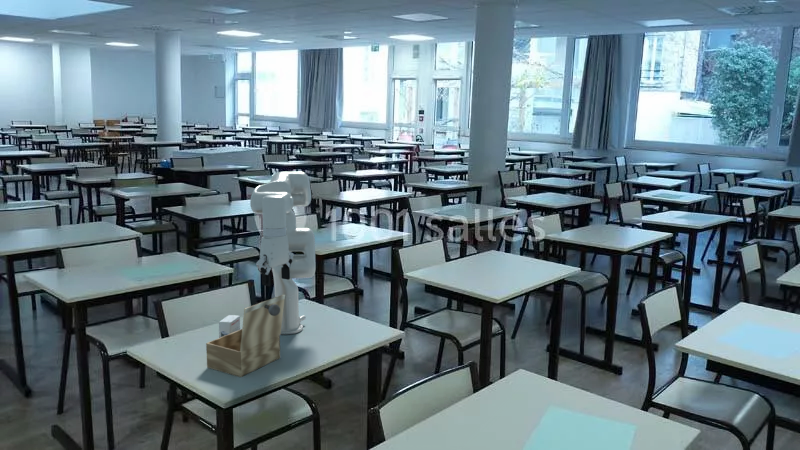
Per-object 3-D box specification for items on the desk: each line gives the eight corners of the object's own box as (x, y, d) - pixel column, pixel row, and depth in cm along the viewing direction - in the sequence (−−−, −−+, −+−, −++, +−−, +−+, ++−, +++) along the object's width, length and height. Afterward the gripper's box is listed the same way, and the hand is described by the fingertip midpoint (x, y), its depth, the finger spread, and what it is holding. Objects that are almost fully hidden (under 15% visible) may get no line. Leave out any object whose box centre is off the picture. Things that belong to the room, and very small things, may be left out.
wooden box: (247, 349, 238) (247, 326, 236) (280, 358, 230) (279, 334, 228) (207, 367, 221) (206, 343, 219) (240, 377, 213) (239, 352, 211)
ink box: (229, 343, 244) (228, 314, 242) (241, 344, 243) (240, 315, 241) (219, 351, 236) (217, 321, 234) (231, 352, 235) (230, 322, 233)
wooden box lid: (283, 293, 224) (298, 299, 221) (279, 334, 228) (293, 340, 225) (244, 307, 207) (259, 314, 204) (240, 351, 212) (254, 358, 208)
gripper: (283, 227, 218) (284, 275, 221) (247, 235, 203) (249, 286, 207) (300, 229, 214) (301, 278, 217) (265, 237, 200) (266, 289, 203)
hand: (276, 282), depth 212 cm, fingers open, 9 cm apart
